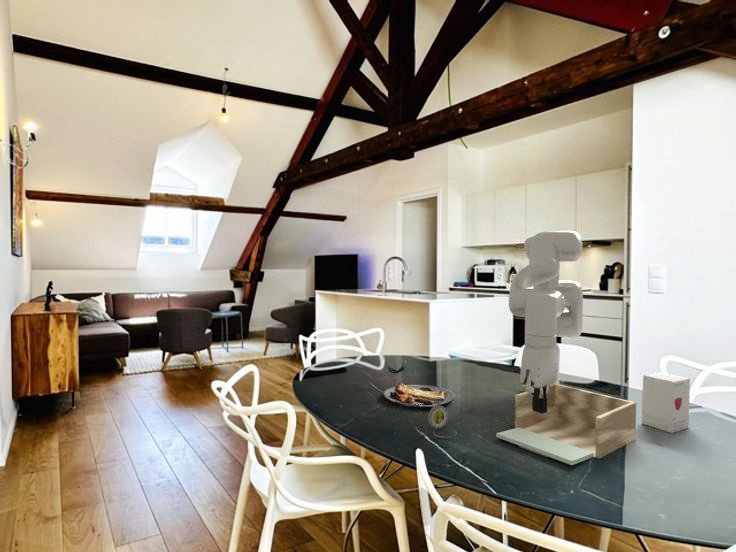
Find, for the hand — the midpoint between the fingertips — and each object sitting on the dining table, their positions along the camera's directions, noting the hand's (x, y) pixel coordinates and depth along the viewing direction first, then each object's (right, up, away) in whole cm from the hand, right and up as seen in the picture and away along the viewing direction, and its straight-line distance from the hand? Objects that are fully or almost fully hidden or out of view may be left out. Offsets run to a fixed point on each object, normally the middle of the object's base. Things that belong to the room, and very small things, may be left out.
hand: (539, 411), depth 118 cm
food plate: (-26, -9, +45) cm, 53 cm away
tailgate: (+5, -10, +4) cm, 12 cm away
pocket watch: (-23, -10, +13) cm, 28 cm away
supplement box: (+44, -10, +19) cm, 49 cm away
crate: (+13, -10, +10) cm, 19 cm away
